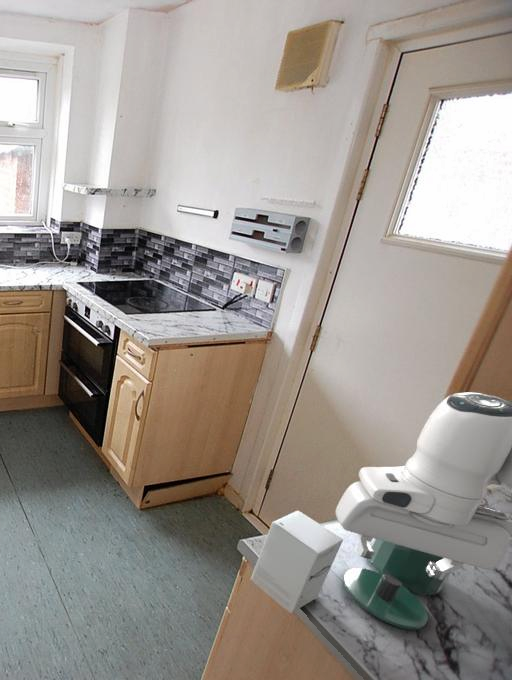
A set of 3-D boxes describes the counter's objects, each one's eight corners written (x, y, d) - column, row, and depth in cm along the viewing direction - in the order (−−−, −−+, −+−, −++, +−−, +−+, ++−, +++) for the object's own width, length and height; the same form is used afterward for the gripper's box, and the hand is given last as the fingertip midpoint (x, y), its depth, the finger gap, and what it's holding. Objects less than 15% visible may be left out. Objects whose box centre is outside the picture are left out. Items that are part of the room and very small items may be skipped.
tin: (422, 559, 85) (442, 523, 82) (452, 604, 76) (475, 565, 73) (359, 541, 88) (375, 506, 85) (380, 582, 79) (399, 544, 76)
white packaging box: (291, 616, 71) (318, 554, 67) (248, 579, 77) (270, 520, 73) (318, 599, 75) (345, 539, 70) (275, 565, 81) (297, 508, 76)
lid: (406, 586, 79) (417, 565, 77) (439, 643, 69) (452, 621, 67) (333, 564, 82) (342, 544, 80) (354, 616, 72) (365, 594, 71)
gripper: (508, 503, 68) (466, 572, 73) (349, 464, 74) (320, 531, 79) (538, 532, 62) (490, 605, 67) (364, 487, 68) (331, 558, 73)
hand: (397, 565), depth 73 cm, fingers open, 8 cm apart
